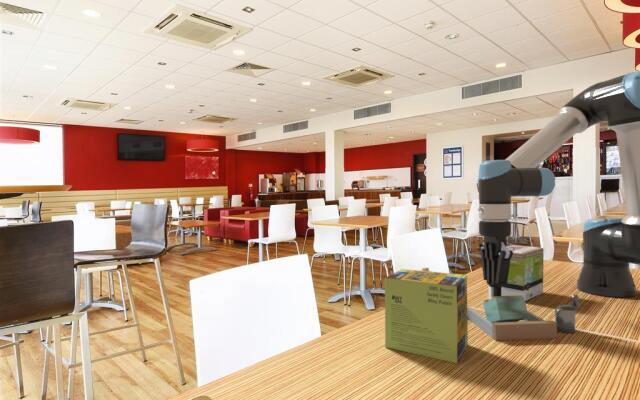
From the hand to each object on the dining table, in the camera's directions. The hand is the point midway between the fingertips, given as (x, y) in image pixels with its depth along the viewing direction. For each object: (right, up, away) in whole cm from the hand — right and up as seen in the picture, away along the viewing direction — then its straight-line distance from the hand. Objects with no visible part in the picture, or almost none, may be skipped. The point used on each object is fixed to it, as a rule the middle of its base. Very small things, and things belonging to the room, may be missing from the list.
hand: (494, 310), depth 99 cm
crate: (0, -1, -7) cm, 7 cm away
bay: (0, -2, -2) cm, 3 cm away
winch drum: (+12, -2, -9) cm, 16 cm away
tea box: (+16, -1, +20) cm, 26 cm away
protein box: (-22, -3, -16) cm, 28 cm away
